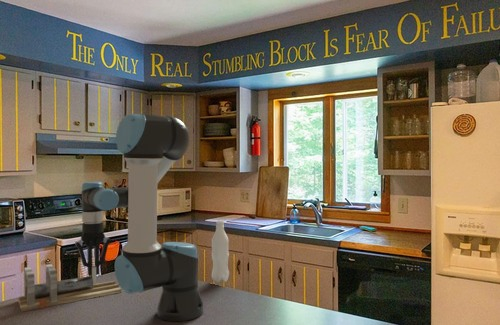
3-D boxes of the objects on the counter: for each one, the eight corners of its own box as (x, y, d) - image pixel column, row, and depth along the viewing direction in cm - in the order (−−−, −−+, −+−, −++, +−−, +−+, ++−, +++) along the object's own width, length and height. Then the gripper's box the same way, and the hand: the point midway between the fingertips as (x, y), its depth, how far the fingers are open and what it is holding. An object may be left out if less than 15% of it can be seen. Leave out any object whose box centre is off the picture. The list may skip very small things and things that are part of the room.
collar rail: (121, 292, 154) (121, 262, 153) (21, 312, 135) (21, 277, 135) (112, 284, 164) (112, 255, 164) (18, 301, 145) (18, 268, 145)
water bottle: (220, 277, 172) (219, 219, 172) (232, 280, 168) (232, 221, 167) (208, 281, 167) (207, 221, 166) (220, 285, 162) (220, 223, 162)
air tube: (90, 287, 156) (90, 274, 156) (93, 290, 151) (93, 277, 152) (31, 297, 144) (31, 283, 144) (33, 301, 140) (33, 286, 140)
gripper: (107, 219, 161) (108, 278, 161) (72, 222, 153) (73, 283, 154) (112, 221, 154) (113, 282, 155) (76, 225, 147) (77, 289, 147)
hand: (93, 283), depth 154 cm, fingers closed
